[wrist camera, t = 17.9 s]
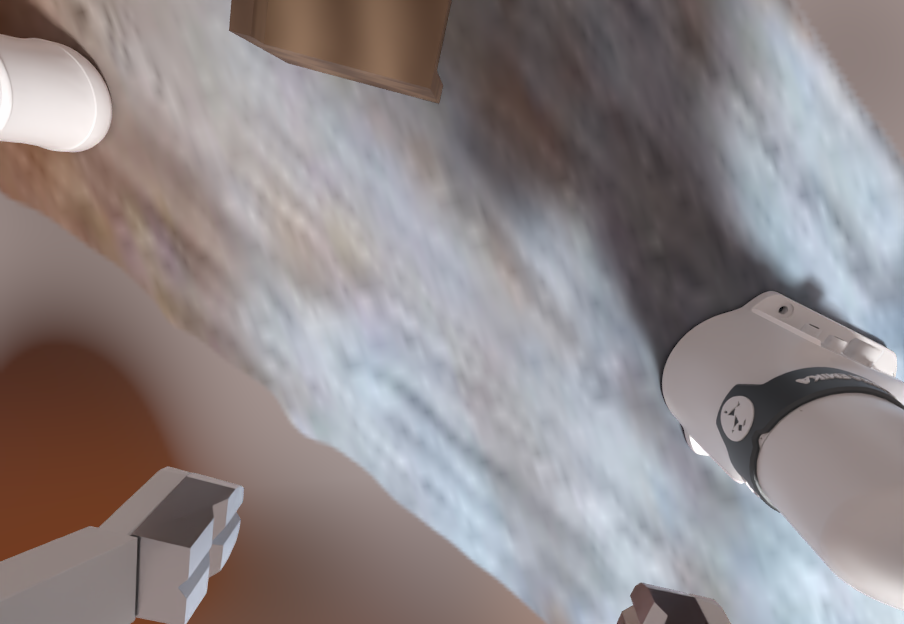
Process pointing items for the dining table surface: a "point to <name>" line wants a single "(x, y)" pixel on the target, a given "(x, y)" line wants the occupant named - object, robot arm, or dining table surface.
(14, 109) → the vodka
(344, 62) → the walnut shelf
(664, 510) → the dining table surface
